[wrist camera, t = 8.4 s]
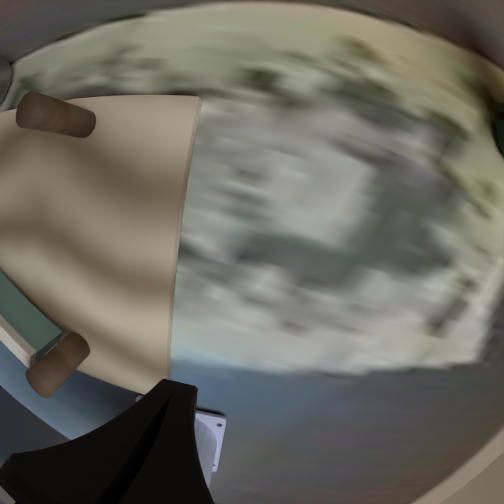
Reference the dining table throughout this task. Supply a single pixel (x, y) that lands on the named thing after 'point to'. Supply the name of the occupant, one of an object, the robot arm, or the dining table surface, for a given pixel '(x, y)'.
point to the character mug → (500, 128)
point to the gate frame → (97, 228)
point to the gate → (24, 325)
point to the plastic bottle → (4, 77)
